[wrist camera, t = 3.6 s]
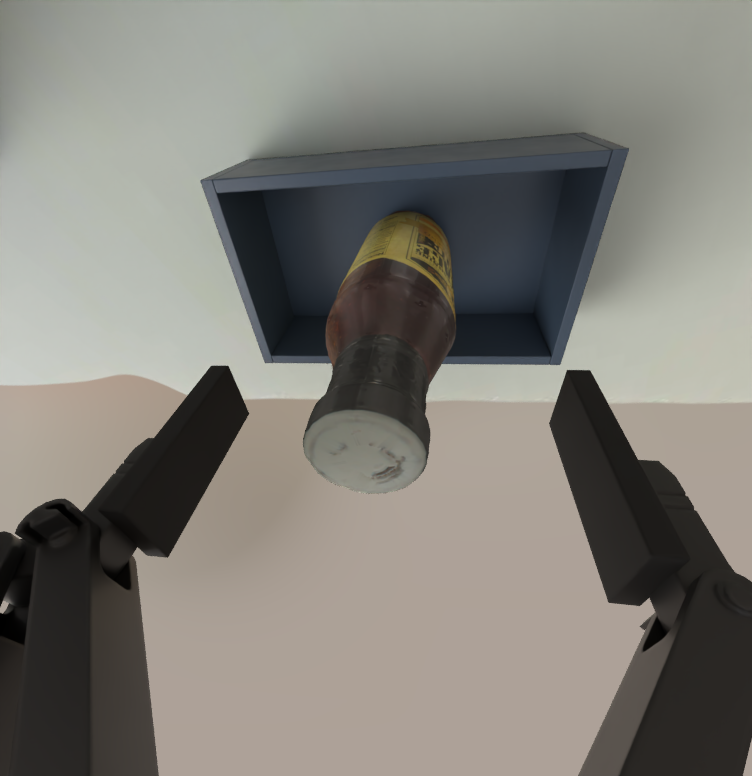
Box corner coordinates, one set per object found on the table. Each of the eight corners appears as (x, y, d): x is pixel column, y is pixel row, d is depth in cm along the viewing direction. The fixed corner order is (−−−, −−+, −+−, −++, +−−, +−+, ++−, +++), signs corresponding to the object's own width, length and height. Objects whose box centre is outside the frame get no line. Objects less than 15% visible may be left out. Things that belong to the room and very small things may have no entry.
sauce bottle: (455, 279, 27) (483, 518, 12) (378, 297, 29) (322, 525, 14) (439, 187, 23) (452, 376, 8) (352, 214, 25) (234, 410, 10)
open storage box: (289, 320, 32) (264, 363, 27) (246, 159, 24) (199, 180, 19) (539, 318, 29) (560, 365, 24) (584, 132, 21) (629, 148, 16)
